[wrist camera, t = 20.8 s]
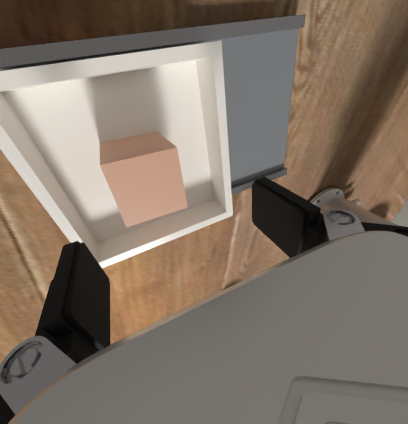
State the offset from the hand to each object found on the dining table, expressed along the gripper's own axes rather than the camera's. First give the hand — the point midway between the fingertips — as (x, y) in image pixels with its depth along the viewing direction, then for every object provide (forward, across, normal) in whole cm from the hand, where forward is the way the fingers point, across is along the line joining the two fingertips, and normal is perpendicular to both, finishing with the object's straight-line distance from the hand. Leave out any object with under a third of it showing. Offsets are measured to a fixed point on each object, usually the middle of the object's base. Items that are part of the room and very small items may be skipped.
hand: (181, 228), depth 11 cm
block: (+11, +1, -1) cm, 11 cm away
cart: (+15, +1, -1) cm, 15 cm away
